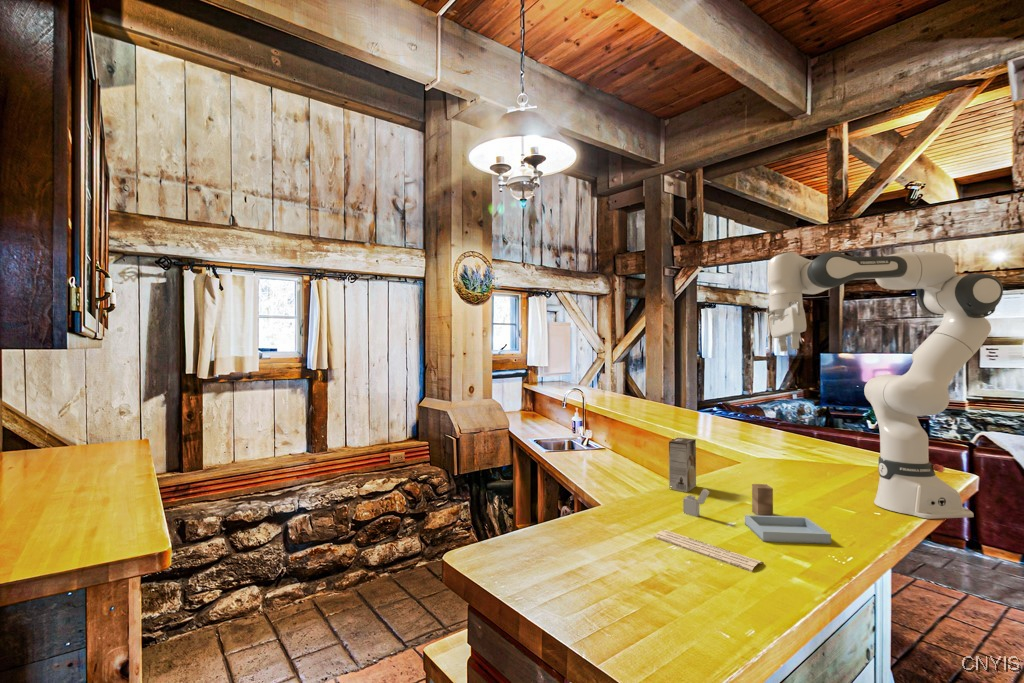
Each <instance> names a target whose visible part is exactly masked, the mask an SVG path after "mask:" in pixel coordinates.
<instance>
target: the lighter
mask: <svg viewBox="0 0 1024 683" xmlns="http://www.w3.org/2000/svg"><path fill="white" fill-rule="evenodd" d="M709 494H710V491H709V490H708V489H707V488H703V489H702V490H701V491H700V494H699V496H698V498H697V499H696V496H695V495H691V494H687V495H686V496H685V497H683V498H682V504H683V505H682V507H683V509H682V510H683V511H682V512H684V513H683V514H685V513H686V514H685V515H688V514H689V515H688V516H691V515H692V517H695V518H697V517H700V505H703V504H704V503H705V502H706V500H707V498H708V496H709Z"/></svg>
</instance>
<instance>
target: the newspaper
mask: <svg viewBox="0 0 1024 683" xmlns="http://www.w3.org/2000/svg"><path fill="white" fill-rule="evenodd" d="M653 538H654V539H656V540H659V541H661V542H664V543H667V544H670V545H672V546H676V547H678V548H681V549H684V550H687V551H691V552H692V553H696V554H699V555H702V556H704V557H707V558H710V559H713V560H715V561H718V562H721V563H725V564H727V565H730V566H733V567H736V568H739V569H742V570H745V571H747V572H750V573H753V570H754V568H755V567H756V566H757V565H758V564H760V565H764V564H765V563H764V561H761V560H758V559H755V558H751V557H750V556H749V557H748V556H746V555H742V554H740V553H736V552H734V551H730V550H727V549H724V548H721V547H718V546H715V545H713V544H709V543H707V542H703V541H701V540H697V539H694V538H691V537H688V536H685V535H682V534H679V533H675V532H673V531H669V530H667V529H662V530H660V531H658V532H657V533H656V534H655V535H654V536H653Z"/></svg>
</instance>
